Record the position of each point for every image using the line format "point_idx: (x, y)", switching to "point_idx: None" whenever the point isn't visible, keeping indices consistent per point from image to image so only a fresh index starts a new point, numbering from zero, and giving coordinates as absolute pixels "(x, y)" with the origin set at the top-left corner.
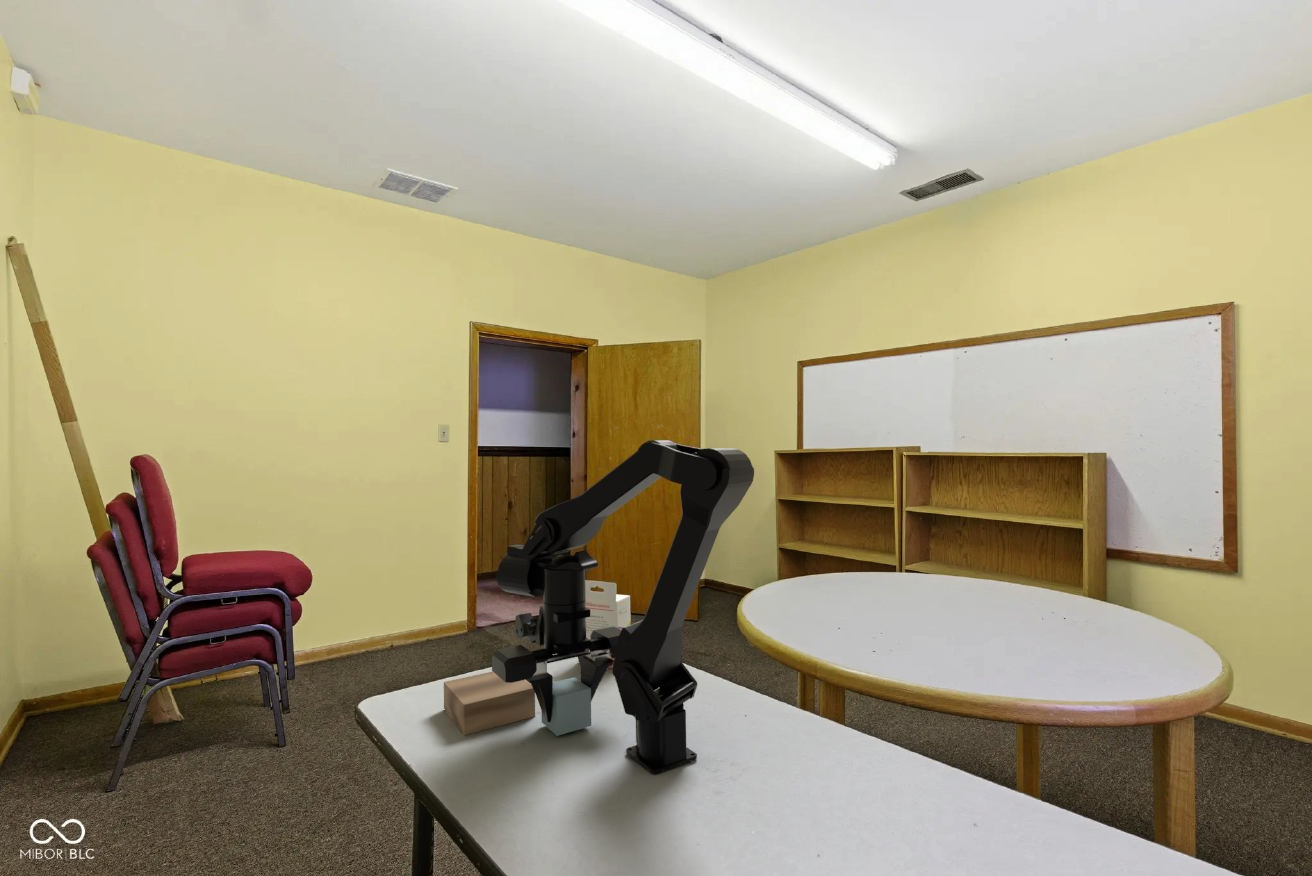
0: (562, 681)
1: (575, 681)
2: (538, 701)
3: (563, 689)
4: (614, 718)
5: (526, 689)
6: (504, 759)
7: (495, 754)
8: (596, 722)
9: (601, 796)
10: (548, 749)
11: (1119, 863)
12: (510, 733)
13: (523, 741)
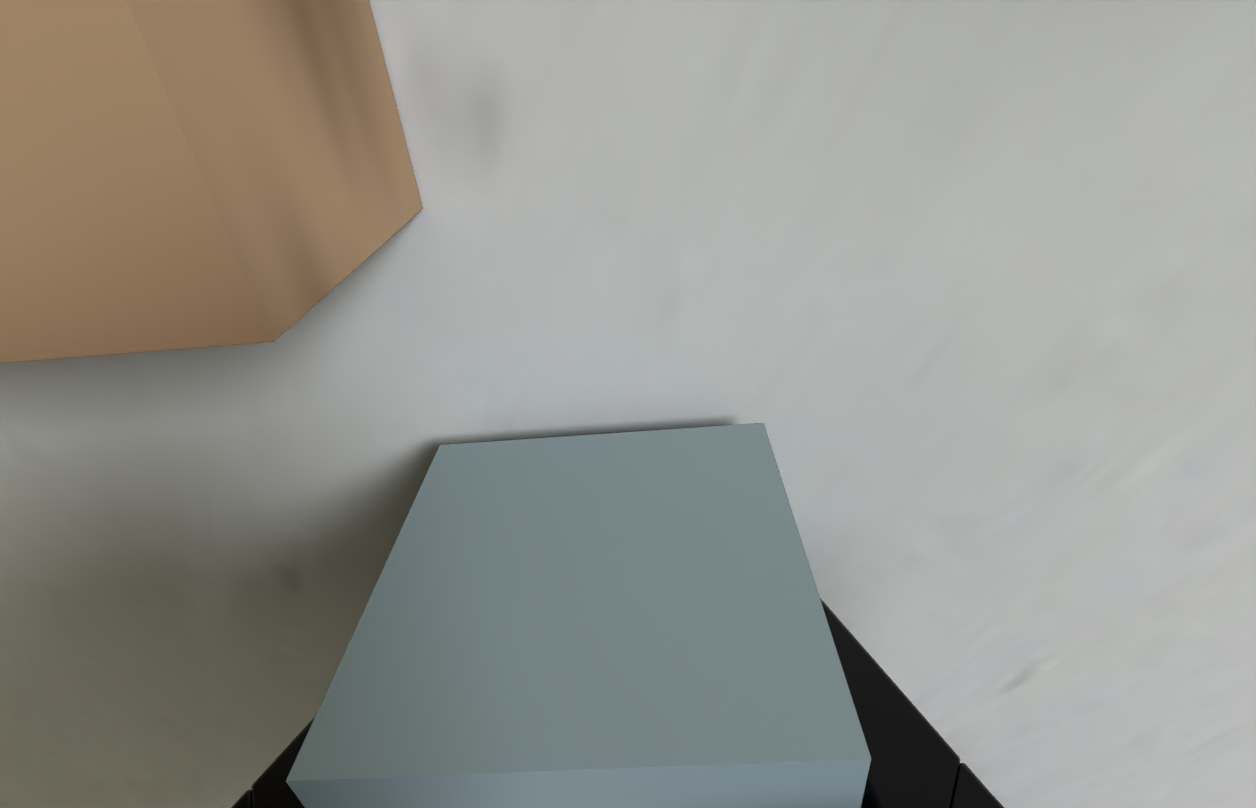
0: (633, 791)
1: None
2: (305, 733)
3: None
4: (988, 551)
5: (117, 345)
6: (184, 668)
7: (119, 613)
8: (844, 546)
9: None
10: None
11: None
12: (186, 419)
13: (292, 557)
